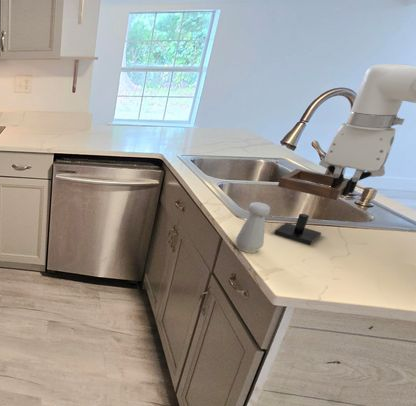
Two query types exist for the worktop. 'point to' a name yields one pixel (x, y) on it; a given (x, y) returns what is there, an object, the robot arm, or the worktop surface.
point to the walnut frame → (315, 189)
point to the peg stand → (298, 231)
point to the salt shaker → (253, 228)
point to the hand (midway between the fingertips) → (340, 193)
